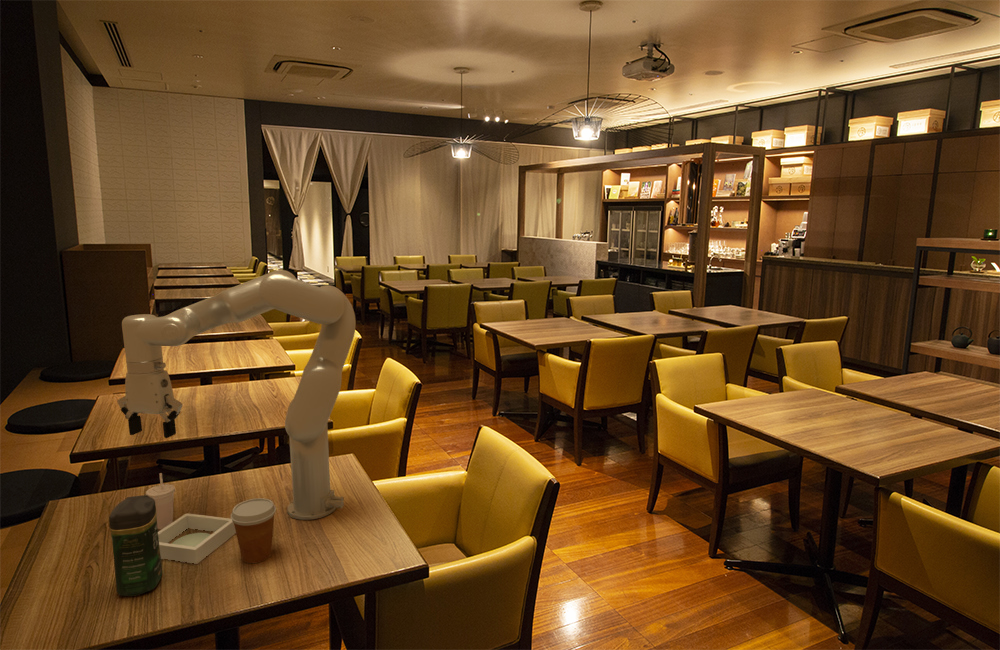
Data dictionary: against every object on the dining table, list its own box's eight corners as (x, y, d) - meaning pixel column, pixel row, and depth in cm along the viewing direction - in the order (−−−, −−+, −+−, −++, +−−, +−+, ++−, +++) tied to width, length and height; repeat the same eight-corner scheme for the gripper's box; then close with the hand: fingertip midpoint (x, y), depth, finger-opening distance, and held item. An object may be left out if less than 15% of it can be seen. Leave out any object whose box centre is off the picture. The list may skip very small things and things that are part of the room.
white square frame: (236, 532, 146) (235, 519, 146) (196, 564, 133) (195, 549, 132) (187, 526, 149) (186, 513, 149) (143, 556, 136) (141, 542, 135)
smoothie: (165, 533, 146) (160, 479, 143) (143, 530, 147) (137, 477, 145) (184, 520, 152) (179, 469, 149) (162, 518, 153) (157, 466, 151)
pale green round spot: (221, 536, 144) (221, 535, 144) (195, 556, 136) (194, 555, 136) (189, 532, 146) (189, 530, 146) (161, 552, 138) (161, 550, 138)
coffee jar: (157, 594, 122) (147, 510, 119) (112, 601, 120) (102, 516, 117) (167, 568, 131) (158, 489, 128) (126, 574, 129) (116, 494, 126)
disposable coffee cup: (235, 572, 130) (231, 521, 128) (232, 550, 138) (228, 502, 136) (281, 560, 134) (278, 511, 132) (276, 540, 143) (272, 494, 140)
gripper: (188, 364, 144) (194, 431, 147) (127, 361, 147) (135, 427, 150) (164, 372, 136) (172, 442, 139) (101, 368, 140) (110, 437, 143)
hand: (153, 434), depth 145 cm, fingers open, 9 cm apart
